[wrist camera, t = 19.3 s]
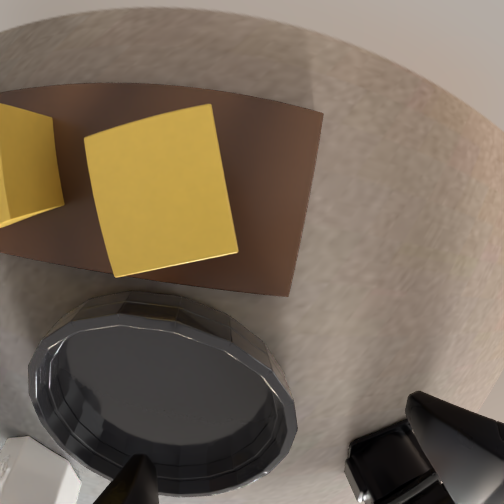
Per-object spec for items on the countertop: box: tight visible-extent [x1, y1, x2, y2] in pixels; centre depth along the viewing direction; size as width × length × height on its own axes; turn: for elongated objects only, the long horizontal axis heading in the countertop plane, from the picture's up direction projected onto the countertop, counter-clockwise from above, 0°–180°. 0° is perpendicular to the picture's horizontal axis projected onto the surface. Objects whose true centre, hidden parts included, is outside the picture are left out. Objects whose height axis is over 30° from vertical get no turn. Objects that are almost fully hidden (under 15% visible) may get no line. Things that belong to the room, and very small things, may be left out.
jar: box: [0, 436, 81, 504], centre depth 12 cm, size 9×8×12 cm
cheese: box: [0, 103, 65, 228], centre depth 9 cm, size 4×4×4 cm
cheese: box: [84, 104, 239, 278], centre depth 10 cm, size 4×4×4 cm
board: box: [0, 83, 324, 297], centre depth 12 cm, size 20×9×1 cm, turn 80°
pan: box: [28, 291, 298, 497], centre depth 15 cm, size 16×16×3 cm
